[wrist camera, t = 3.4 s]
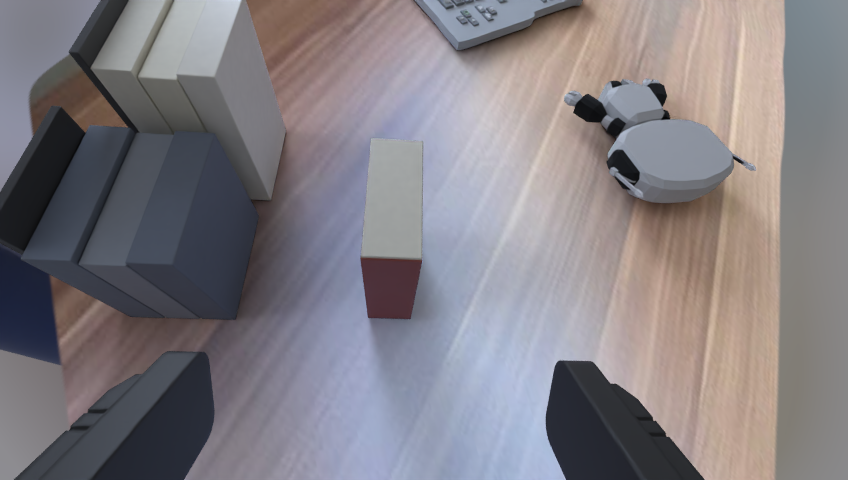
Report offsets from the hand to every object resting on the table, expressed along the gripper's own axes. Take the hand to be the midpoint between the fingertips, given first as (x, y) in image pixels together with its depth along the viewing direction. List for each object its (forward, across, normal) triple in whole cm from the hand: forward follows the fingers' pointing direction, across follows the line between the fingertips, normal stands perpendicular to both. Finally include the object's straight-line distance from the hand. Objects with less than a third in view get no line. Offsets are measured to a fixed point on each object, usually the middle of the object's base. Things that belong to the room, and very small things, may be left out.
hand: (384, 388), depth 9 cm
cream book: (+22, 0, +6) cm, 23 cm away
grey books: (+22, +15, +6) cm, 28 cm away
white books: (+30, +14, -1) cm, 33 cm away
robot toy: (+33, -24, -4) cm, 41 cm away
